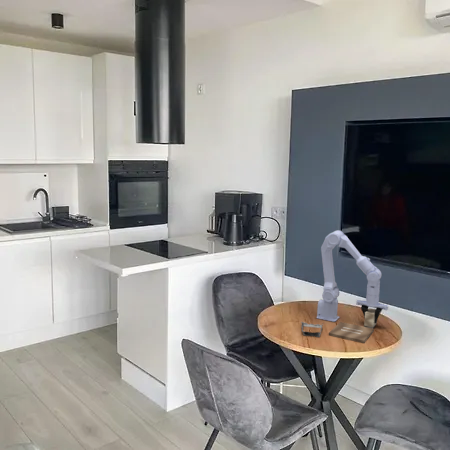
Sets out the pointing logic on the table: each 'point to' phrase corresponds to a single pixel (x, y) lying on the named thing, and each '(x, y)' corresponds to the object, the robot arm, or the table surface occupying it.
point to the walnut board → (351, 332)
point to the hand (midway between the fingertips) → (370, 321)
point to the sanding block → (369, 318)
